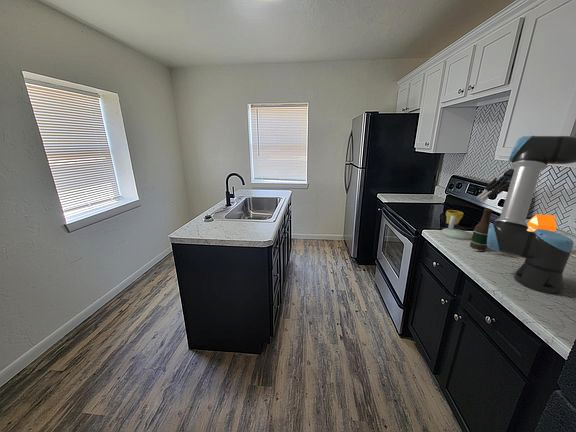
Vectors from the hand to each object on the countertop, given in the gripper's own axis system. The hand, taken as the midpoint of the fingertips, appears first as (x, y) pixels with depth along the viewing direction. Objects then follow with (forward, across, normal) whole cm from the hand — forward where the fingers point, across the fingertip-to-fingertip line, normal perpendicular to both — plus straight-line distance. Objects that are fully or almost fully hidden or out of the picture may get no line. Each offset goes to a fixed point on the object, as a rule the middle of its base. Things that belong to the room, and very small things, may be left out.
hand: (480, 199), depth 153 cm
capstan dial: (+25, -4, -8) cm, 26 cm away
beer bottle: (+25, -22, -9) cm, 35 cm away
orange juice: (0, -18, -34) cm, 39 cm away
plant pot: (+17, +20, -17) cm, 32 cm away
